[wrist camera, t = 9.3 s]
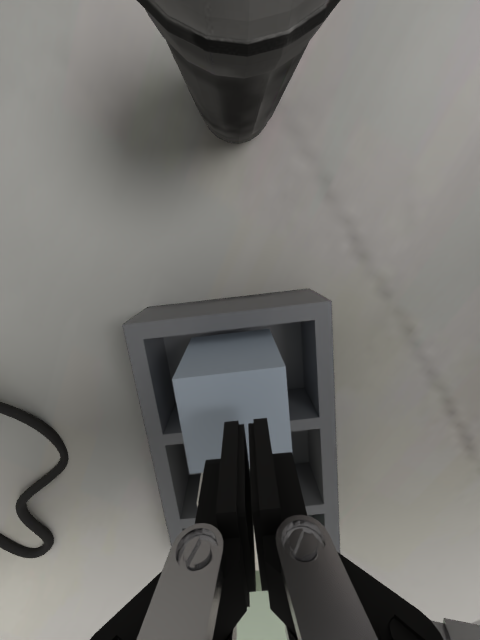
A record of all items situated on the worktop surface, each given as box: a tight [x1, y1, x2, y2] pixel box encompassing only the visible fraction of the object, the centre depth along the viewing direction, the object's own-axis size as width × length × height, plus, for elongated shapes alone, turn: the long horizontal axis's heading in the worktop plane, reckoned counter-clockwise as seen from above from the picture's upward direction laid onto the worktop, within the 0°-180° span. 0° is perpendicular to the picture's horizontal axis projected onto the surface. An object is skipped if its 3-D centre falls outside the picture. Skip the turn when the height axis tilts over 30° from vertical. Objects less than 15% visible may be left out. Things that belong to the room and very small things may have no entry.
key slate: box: [172, 329, 293, 474], centre depth 16 cm, size 5×5×6 cm
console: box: [123, 289, 340, 553], centre depth 22 cm, size 12×22×5 cm, turn 6°
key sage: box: [236, 571, 287, 640], centre depth 20 cm, size 5×5×6 cm
